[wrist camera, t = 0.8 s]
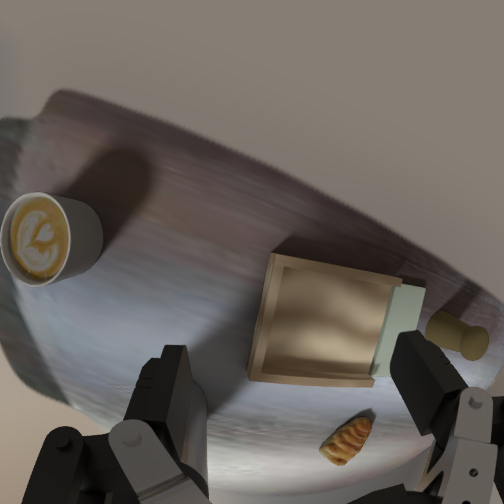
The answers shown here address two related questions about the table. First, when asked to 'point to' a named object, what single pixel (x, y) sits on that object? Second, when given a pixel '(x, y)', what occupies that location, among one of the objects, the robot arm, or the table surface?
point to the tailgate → (396, 325)
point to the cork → (457, 335)
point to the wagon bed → (318, 323)
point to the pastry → (346, 441)
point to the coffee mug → (49, 238)
